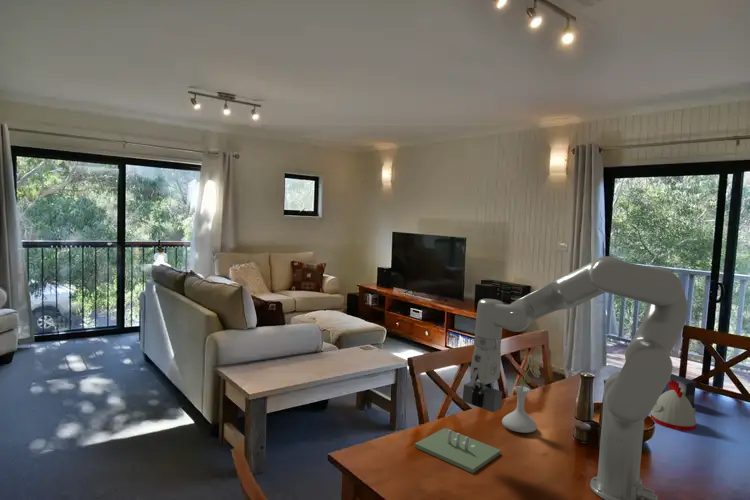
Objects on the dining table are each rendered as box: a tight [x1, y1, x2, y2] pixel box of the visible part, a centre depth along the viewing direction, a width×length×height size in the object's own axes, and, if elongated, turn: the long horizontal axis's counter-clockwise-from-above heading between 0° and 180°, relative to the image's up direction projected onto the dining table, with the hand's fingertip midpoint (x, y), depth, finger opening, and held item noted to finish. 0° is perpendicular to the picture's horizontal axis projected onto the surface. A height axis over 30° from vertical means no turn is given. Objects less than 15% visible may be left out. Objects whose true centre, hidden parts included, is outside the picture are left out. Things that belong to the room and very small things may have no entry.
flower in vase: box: [501, 354, 542, 434], centre depth 159 cm, size 13×11×25 cm
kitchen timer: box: [650, 380, 697, 432], centre depth 171 cm, size 14×14×15 cm
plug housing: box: [462, 381, 503, 413], centre depth 137 cm, size 10×4×5 cm, turn 48°
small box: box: [661, 373, 697, 408], centre depth 191 cm, size 11×6×10 cm, turn 25°
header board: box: [414, 427, 502, 474], centre depth 142 cm, size 20×16×5 cm
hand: (481, 402), depth 137 cm, fingers closed on plug housing, 4 cm apart
